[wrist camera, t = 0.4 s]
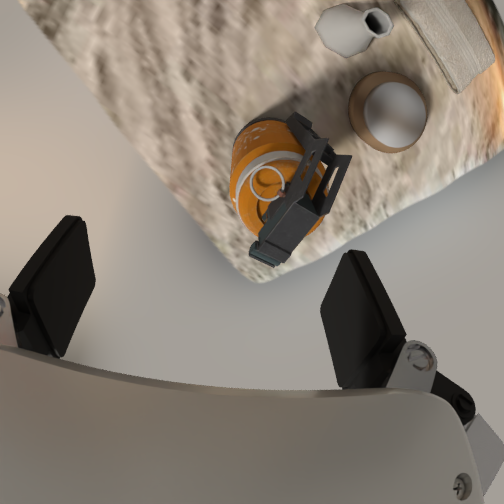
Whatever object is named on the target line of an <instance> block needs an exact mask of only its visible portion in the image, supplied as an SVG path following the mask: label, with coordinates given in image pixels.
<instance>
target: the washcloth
mask: <svg viewBox="0 0 504 504" xmlns="http://www.w3.org/2000/svg"><path fill="white" fill-rule="evenodd" d="M394 2H395V4H396V5H397V6H398V8H399V9H400V10H401V12H402V14H403V16H404V17H405V18H406V20H407V21H408V22H409V24H410V25H411V27H412V28H413V29H414V31H415V32H416V34H417V35H418V37H419V38H420V39H421V41H422V42H423V44H424V46H425V47H426V49H427V50H428V52H429V53H430V55H431V56H432V58H433V59H434V61H435V63H436V64H437V66H438V68H439V69H440V71H441V73H442V75H443V77H444V78H445V80H446V82H447V84H448V85H449V87H450V88H451V90H452V91H453V92H454V93H456V94H459V93H461V92H462V91H463V90H464V89H465V88H466V87H467V86H468V85H469V83H471V81H472V79H473V78H475V77H476V76H477V75H478V74H481V73H482V72H483V71H485V70H486V69H487V68H489V67H490V65H492V64H493V63H494V62H495V56H494V54H493V52H492V49H491V47H490V45H489V43H488V41H487V40H486V38H485V35H484V33H483V31H482V29H481V28H480V25H479V24H478V22H477V20H476V18H475V16H474V15H473V13H472V12H471V9H470V8H469V6H468V4H467V3H466V2H465V0H394Z"/></svg>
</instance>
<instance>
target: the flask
mask: <svg viewBox="0 0 504 504" xmlns="http://www.w3.org/2000/svg"><path fill="white" fill-rule="evenodd" d="M393 26H394V25H393V23H392V21H391V19H390V17H389V15H388V14H387V13H385V12H384V11H382V10H381V9H379V8H378V7H375V8H372V9H368V10H365V12H362V11H359V10H357V9H354V8H352V7H350V6H348V5H346V4H341V5H338V6H335V7H332V8H329V9H326V10H324V11H323V13H322V14H321V16H320V18H319V20H318V22H317V24H316V26H315V29H316V31H317V33H318V35H319V36H320V38H321V40H322V41H323V43H324V45H325V47H326V48H328V49H330V50H332V51H334V52H336V53H337V54H339V55H341V56H343V57H345V58H348V57H351V56H353V55H356V54H358V53H361V52H364V51H365V50H366V49H367V47H368V45H369V43H370V41H371V40H372V38H373V37H376V38H381V37H384V36H387V35H389V34H390V32H391V30H392V28H393Z"/></svg>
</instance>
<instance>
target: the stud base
mask: <svg viewBox="0 0 504 504" xmlns="http://www.w3.org/2000/svg"><path fill="white" fill-rule="evenodd" d="M348 110H349V118H350V122H351V125H352V127H353V129H354V131H355V132H356V134H357V135H358V136H359V137H360V138H361V139H362V140H363V141H364V142H366V143H367V144H368V145H370V146H371V147H372V148H374V149H376V150H378V151H381V152H385V153H398V152H401V151H404V150H406V149H408V148H410V147H411V146H413V145H414V144H415V143H416V142H417V141H418V139H419V138H420V137H421V135H422V133H423V131H424V129H425V126H426V121H427V106H426V102H425V99H424V96H423V94H422V92H421V91H420V89H419V88H418V86H417V85H416V84H415V83H414V82H413V81H412V80H410V79H409V78H407V77H405V76H403V75H401V74H398V73H393V72H386V71H380V72H374V73H371V74H369V75H367V76H365V77H364V78H362V79H361V80H360V81H359V82H358V83H357V84H356V86H355V87H354V89H353V91H352V93H351V96H350V99H349V108H348Z"/></svg>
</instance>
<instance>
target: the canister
mask: <svg viewBox="0 0 504 504" xmlns="http://www.w3.org/2000/svg"><path fill="white" fill-rule="evenodd" d="M311 127H312V122H310V121H309V120H307V119H306V118H304V117H303V116H301V115H300V114H298V113H297V112H294V113H293V114H292V115H291V116H290V117H289V118H288V119H287V120H286V121H283V120H280V119H276V118H261V119H258V120H255V121H253V122H251V123H249V124H247V125H246V126H245V127H244V128H243V129H242V130H241V131H240V132H239V133H238V135H237V137H236V139H235V142H234V145H233V153H232V164H231V176H230V198H231V202H232V204H233V207H234V209H235V210H236V212H237V214H238V216H239V218H240V220H241V222H242V223H243V225H244V226H245V227H246V228H247V229H248V230H249V231H250V232H251V233H253V234H254V235H256V236H258V238H259V241H255V242H254V243H253V244H252V245H251V247H250V250H249V256H250V257H252V258H254V259H256V260H258V261H260V262H263V263H265V264H267V265H269V266H271V267H273V268H274V267H275V265H276V266H278V265H280V263H285V262H286V261H287V259H288V258H289V257H290V256H291V253H292V252H293V250H294V249H295V248H296V247H297V246H298V244H299V243H300V242H301V241H302V240H303V238H304V237H305V236H307V235H309V234H310V233H312V232H313V231H314V230H315V229H316V228H317V227H318V226H319V225H320V223H321V222H322V220H323V218H324V216H325V215H327V214H328V213H329V212H330V210H331V207H332V205H333V202H334V200H335V198H336V195H337V193H338V190H339V188H340V185H341V183H342V181H343V178H344V176H345V173H346V171H347V168H348V166H349V163H350V161H351V158H352V155H336V153H335V152H334V149H333V148H332V147H331V146H330V145H329V144H328V140H329V138H324V139H321V138H320V137H319V136H318V135H317V134H316V133H315V132H314V131H313V130H312V129H311ZM321 161H322V162H323V163H325V164H326V165H328V167H327V169H326V170H325V168H324V166H323V164H322V163H321ZM337 167H339V168H338V171H337V173H336V176H335V178H334V181H333V183H332V186H331V188H330V190H329V189H328V188H329V185H328V182H329V180H330V178H331V176H332V174H333V172H334V170H335V168H337Z"/></svg>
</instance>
